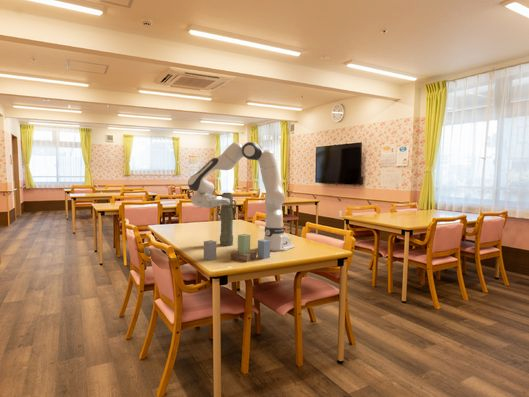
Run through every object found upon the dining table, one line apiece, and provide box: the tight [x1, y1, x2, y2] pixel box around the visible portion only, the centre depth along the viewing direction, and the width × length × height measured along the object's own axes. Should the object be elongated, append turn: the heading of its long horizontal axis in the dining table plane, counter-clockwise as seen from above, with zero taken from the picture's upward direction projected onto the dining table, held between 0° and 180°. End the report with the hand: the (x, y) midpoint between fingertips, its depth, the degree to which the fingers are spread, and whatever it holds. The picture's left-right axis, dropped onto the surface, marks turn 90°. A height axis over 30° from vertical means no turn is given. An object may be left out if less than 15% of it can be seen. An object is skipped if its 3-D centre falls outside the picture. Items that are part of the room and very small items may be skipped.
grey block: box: [203, 239, 217, 261], centre depth 194 cm, size 5×5×10 cm
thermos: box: [217, 192, 237, 247], centre depth 232 cm, size 9×12×35 cm
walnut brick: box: [230, 250, 257, 263], centre depth 197 cm, size 12×10×4 cm
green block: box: [237, 233, 251, 254], centre depth 197 cm, size 5×5×10 cm
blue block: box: [257, 238, 271, 260], centre depth 200 cm, size 5×5×10 cm
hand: (223, 203), depth 211 cm, fingers open, 8 cm apart
